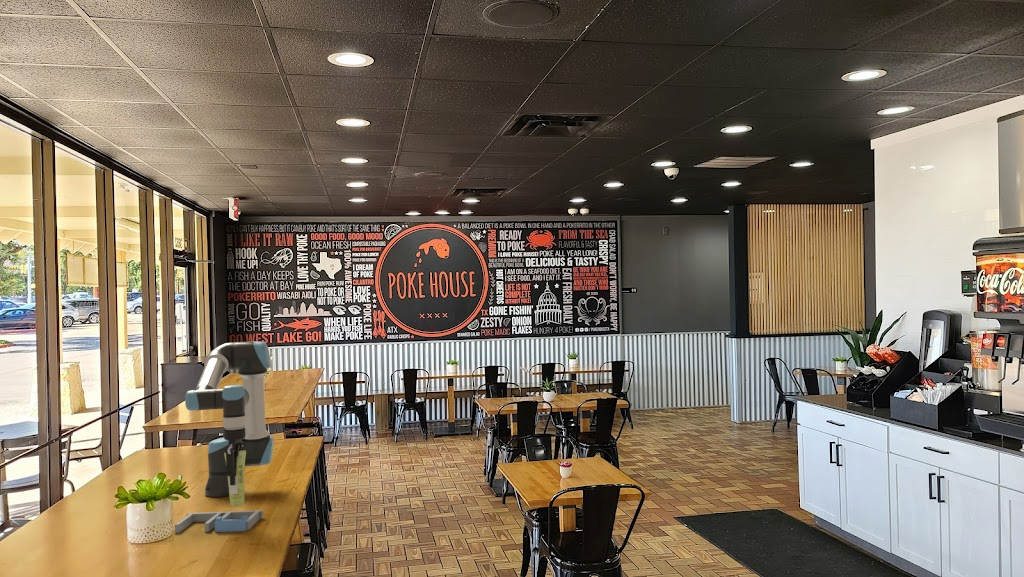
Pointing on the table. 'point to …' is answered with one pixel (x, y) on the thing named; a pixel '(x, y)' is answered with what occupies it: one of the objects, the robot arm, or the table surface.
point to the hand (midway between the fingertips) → (236, 491)
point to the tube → (238, 498)
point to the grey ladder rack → (222, 520)
